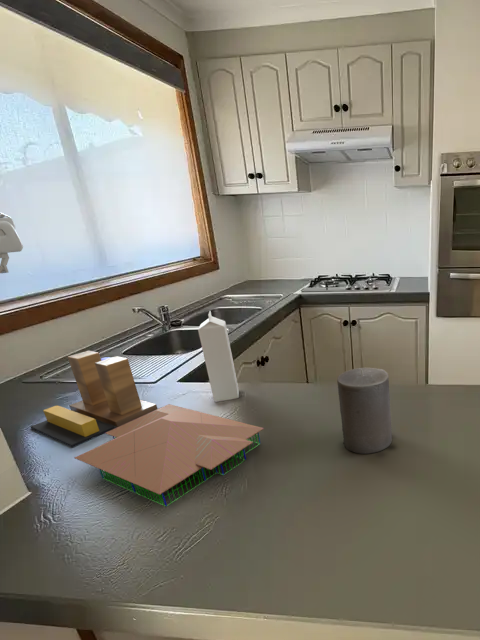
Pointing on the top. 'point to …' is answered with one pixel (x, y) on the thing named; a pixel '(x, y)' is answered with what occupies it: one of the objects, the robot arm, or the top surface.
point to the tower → (107, 389)
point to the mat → (69, 432)
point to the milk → (218, 359)
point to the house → (169, 449)
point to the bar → (71, 420)
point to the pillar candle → (365, 409)
